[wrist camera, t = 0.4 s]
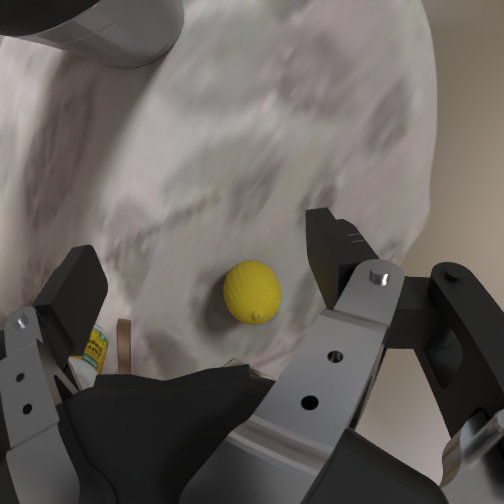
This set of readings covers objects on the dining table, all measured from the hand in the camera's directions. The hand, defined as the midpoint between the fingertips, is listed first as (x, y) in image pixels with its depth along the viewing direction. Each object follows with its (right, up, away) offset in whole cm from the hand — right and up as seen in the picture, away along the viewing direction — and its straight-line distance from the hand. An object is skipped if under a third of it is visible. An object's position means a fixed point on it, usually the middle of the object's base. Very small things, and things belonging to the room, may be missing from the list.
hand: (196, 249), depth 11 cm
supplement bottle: (-19, -11, +24) cm, 33 cm away
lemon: (+1, -2, +23) cm, 23 cm away
